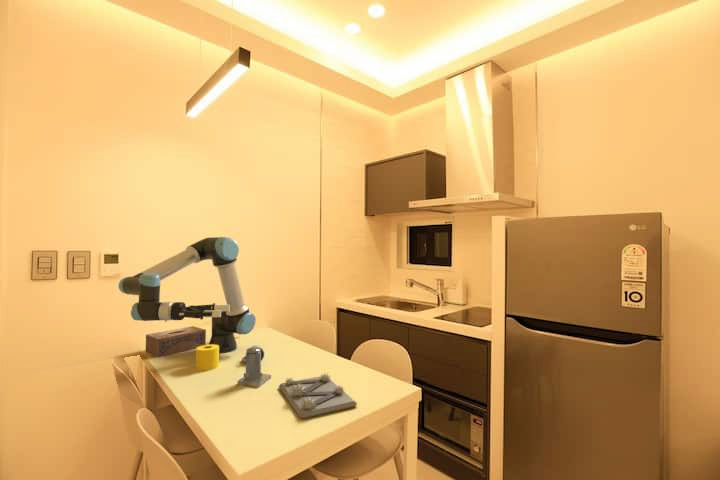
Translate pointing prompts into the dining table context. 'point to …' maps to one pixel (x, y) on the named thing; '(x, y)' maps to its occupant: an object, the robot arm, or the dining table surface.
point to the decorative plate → (316, 396)
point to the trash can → (253, 364)
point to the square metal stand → (254, 381)
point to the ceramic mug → (255, 347)
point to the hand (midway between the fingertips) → (225, 310)
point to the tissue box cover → (175, 341)
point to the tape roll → (207, 357)
